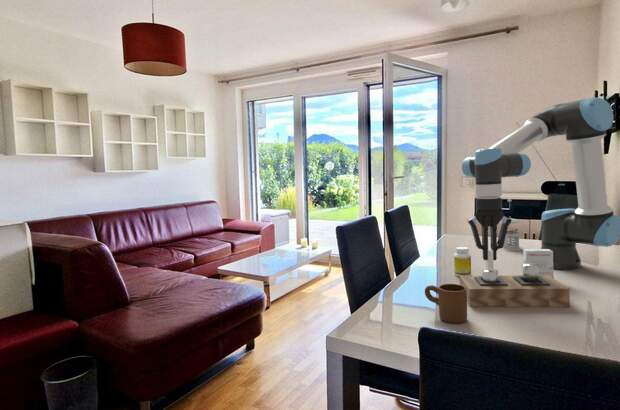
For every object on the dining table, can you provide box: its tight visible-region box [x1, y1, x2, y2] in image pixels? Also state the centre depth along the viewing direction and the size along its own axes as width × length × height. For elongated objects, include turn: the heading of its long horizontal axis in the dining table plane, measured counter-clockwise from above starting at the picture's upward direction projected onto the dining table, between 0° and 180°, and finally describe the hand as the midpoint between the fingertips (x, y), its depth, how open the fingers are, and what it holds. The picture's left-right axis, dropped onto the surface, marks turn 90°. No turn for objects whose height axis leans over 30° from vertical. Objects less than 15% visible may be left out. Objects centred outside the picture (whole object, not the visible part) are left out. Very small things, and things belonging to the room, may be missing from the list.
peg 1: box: [482, 268, 499, 283], centre depth 121 cm, size 4×4×6 cm
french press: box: [497, 198, 522, 252], centre depth 185 cm, size 10×12×25 cm
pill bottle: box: [453, 246, 472, 278], centre depth 148 cm, size 6×6×11 cm
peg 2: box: [522, 262, 539, 282], centre depth 118 cm, size 4×4×6 cm
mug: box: [424, 283, 468, 325], centre depth 108 cm, size 12×8×9 cm, turn 51°
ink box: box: [522, 248, 555, 279], centre depth 134 cm, size 9×5×12 cm, turn 71°
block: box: [459, 274, 571, 308], centre depth 120 cm, size 28×14×6 cm, turn 79°
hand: (489, 269), depth 120 cm, fingers closed
